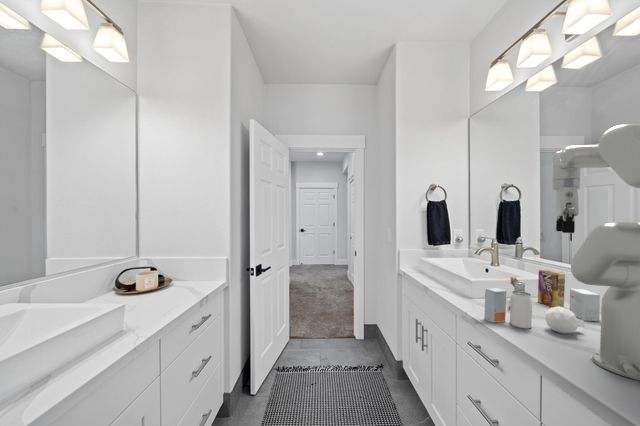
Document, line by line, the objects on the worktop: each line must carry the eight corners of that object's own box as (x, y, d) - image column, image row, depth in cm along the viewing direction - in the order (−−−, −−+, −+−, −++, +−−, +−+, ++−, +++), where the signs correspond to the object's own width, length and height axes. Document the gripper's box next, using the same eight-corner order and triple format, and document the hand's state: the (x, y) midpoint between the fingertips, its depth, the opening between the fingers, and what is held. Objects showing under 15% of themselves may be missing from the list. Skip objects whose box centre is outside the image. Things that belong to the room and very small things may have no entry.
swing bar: (515, 292, 118) (515, 283, 118) (508, 283, 133) (508, 275, 133) (525, 293, 117) (525, 284, 117) (517, 284, 131) (517, 276, 131)
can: (506, 323, 105) (506, 291, 105) (516, 320, 107) (517, 289, 107) (524, 330, 99) (525, 296, 99) (535, 327, 102) (536, 294, 101)
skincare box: (493, 323, 105) (494, 291, 104) (484, 318, 109) (484, 288, 109) (506, 321, 106) (507, 290, 106) (496, 317, 110) (497, 287, 110)
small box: (599, 322, 107) (600, 295, 107) (582, 320, 109) (583, 293, 108) (584, 314, 115) (585, 289, 115) (568, 313, 116) (569, 288, 116)
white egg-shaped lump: (562, 334, 92) (595, 338, 93) (558, 305, 95) (590, 309, 96) (539, 331, 100) (570, 334, 101) (536, 304, 103) (566, 308, 104)
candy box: (564, 308, 122) (566, 273, 122) (557, 309, 121) (558, 274, 121) (544, 301, 131) (545, 269, 131) (537, 302, 130) (538, 269, 130)
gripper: (587, 182, 92) (585, 234, 92) (573, 186, 107) (572, 231, 107) (557, 183, 96) (556, 232, 96) (548, 187, 110) (547, 230, 111)
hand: (564, 232), depth 101 cm, fingers open, 9 cm apart
